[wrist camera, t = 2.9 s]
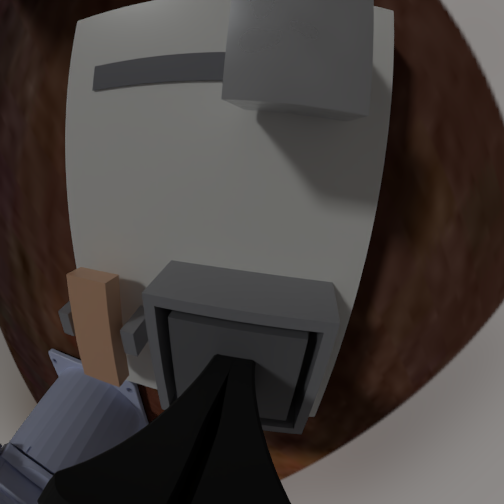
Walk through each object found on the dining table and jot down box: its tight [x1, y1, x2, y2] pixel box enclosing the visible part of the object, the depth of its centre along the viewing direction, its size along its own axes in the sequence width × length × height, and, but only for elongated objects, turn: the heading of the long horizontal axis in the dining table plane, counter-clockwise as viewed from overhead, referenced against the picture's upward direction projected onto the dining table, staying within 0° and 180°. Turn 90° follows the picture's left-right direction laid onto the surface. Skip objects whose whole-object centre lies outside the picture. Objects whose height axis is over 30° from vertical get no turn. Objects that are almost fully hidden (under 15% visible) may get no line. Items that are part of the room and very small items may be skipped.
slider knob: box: [221, 0, 374, 122], centre depth 6 cm, size 3×3×3 cm
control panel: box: [58, 0, 394, 434], centre depth 10 cm, size 18×12×4 cm, turn 175°
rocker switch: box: [67, 267, 129, 387], centre depth 11 cm, size 5×2×1 cm, turn 175°
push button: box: [168, 310, 308, 421], centre depth 11 cm, size 4×4×2 cm
